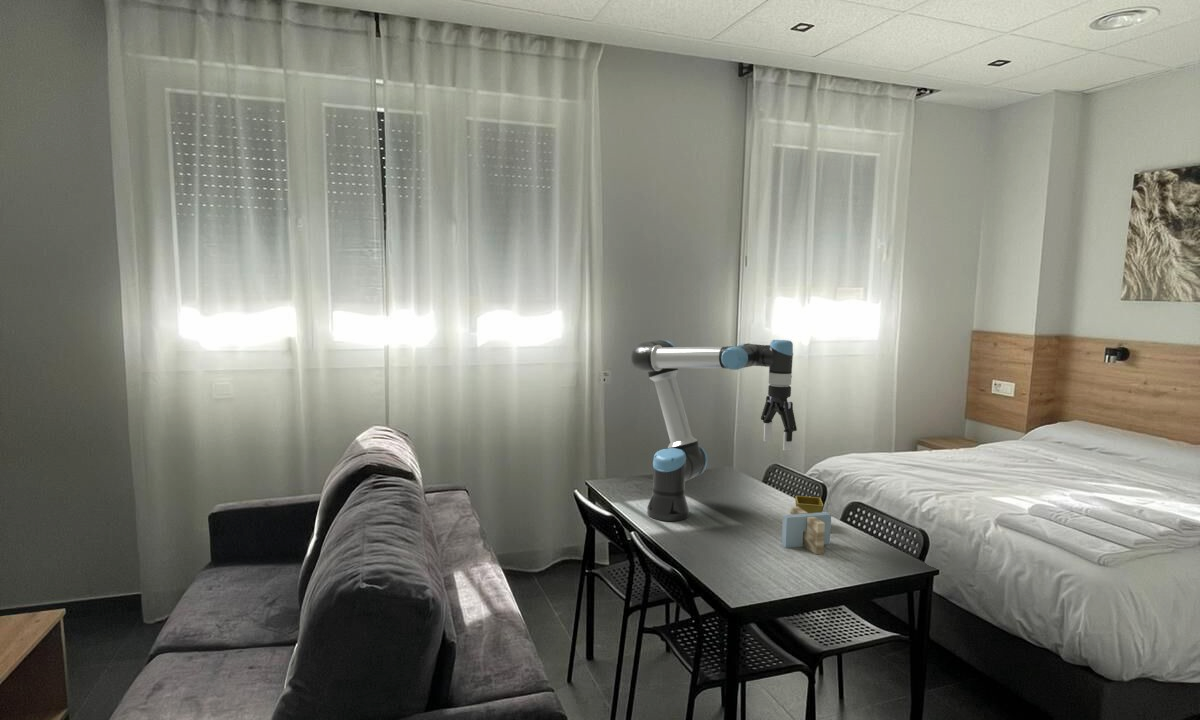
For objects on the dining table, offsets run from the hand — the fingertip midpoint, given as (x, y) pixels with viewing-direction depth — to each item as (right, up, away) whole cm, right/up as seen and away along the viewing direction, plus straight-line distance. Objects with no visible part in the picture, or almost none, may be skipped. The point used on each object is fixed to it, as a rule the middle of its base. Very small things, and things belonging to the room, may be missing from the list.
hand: (776, 445), depth 226 cm
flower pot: (+12, -29, +5) cm, 32 cm away
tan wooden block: (+6, -30, -14) cm, 34 cm away
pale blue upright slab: (+6, -30, -13) cm, 34 cm away
